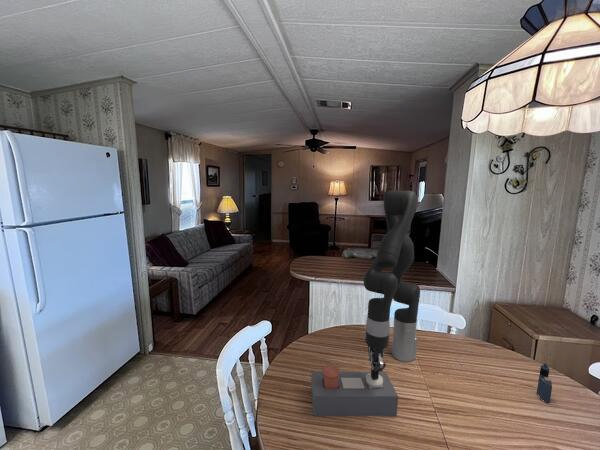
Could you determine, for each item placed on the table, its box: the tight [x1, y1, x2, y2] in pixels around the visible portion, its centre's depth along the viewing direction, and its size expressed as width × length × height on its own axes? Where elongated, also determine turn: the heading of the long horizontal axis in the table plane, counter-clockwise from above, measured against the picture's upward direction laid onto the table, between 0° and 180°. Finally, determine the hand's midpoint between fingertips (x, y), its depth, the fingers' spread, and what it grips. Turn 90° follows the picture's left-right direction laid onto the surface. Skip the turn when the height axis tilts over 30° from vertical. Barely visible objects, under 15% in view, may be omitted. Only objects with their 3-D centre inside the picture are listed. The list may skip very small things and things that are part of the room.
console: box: [310, 371, 399, 417], centre depth 95 cm, size 27×12×7 cm, turn 92°
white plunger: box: [366, 373, 383, 389], centre depth 95 cm, size 6×6×8 cm
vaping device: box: [536, 363, 553, 403], centre depth 99 cm, size 3×5×12 cm, turn 161°
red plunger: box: [322, 364, 340, 388], centre depth 94 cm, size 6×6×8 cm
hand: (374, 378), depth 95 cm, fingers closed
